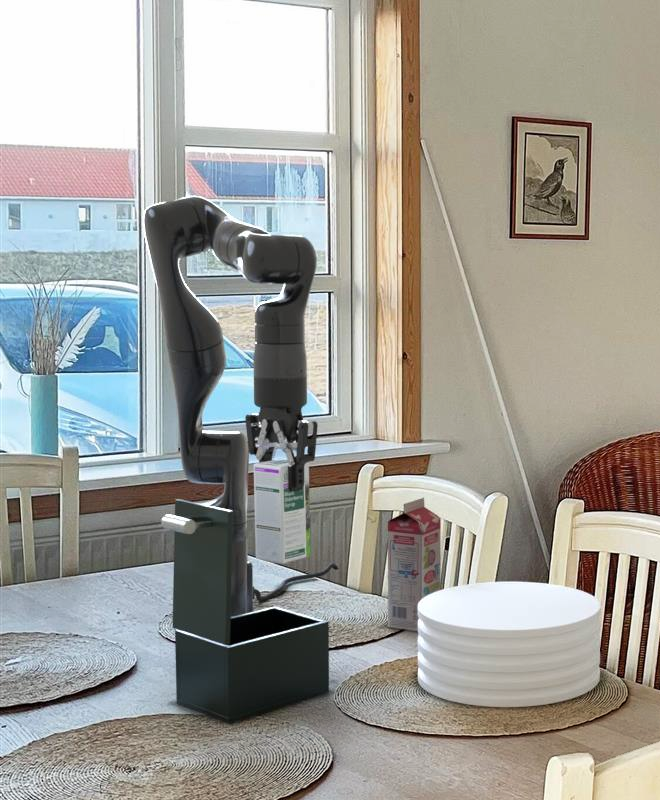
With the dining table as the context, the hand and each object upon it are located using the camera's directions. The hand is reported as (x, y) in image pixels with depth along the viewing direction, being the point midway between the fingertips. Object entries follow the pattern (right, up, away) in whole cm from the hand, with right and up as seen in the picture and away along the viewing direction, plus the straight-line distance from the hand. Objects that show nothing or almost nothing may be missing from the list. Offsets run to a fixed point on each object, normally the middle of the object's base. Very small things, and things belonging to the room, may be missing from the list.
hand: (281, 487), depth 198 cm
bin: (-4, -31, -1) cm, 31 cm away
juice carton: (+14, -27, +39) cm, 49 cm away
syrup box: (0, -11, +1) cm, 11 cm away
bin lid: (-9, -11, -9) cm, 17 cm away
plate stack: (+33, -30, +11) cm, 46 cm away
